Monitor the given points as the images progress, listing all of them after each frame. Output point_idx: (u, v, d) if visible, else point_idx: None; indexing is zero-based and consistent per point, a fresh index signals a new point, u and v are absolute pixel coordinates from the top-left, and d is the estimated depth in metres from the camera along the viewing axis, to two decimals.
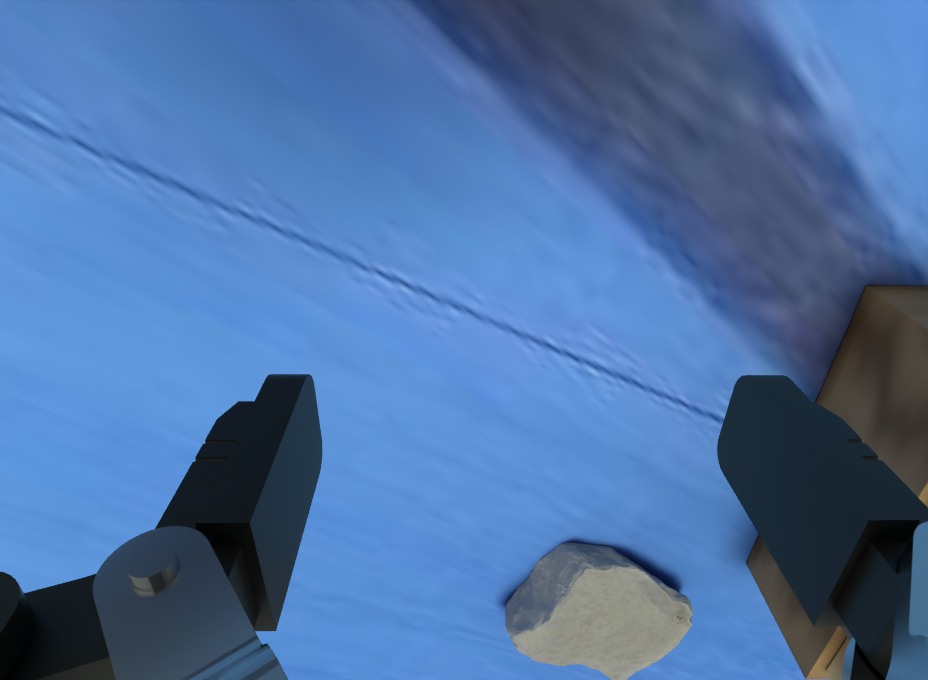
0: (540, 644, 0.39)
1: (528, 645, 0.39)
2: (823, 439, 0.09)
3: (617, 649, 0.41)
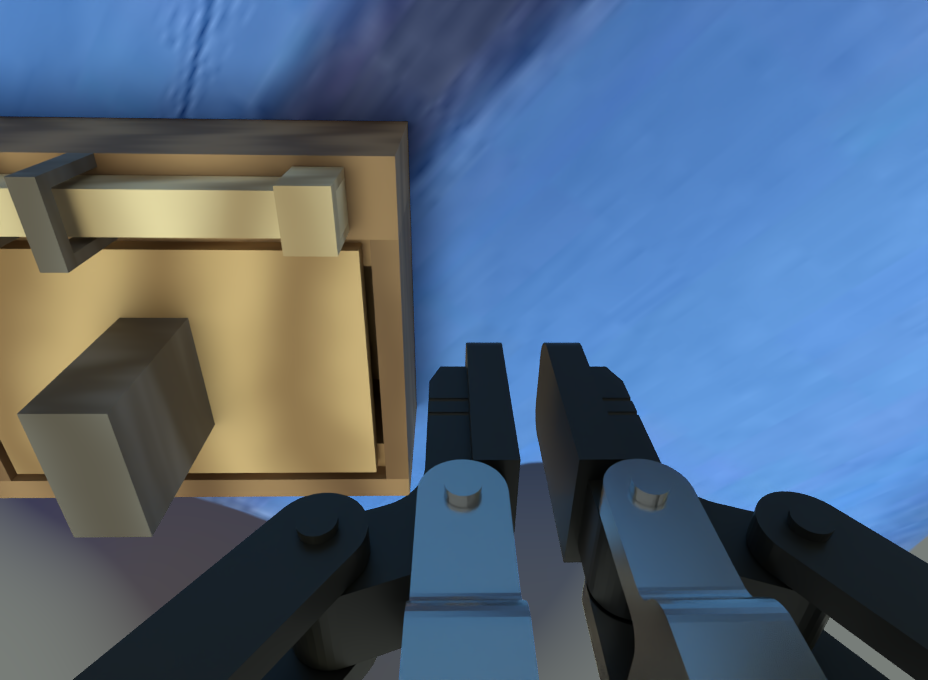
0: None
1: None
2: (580, 395, 0.10)
3: None
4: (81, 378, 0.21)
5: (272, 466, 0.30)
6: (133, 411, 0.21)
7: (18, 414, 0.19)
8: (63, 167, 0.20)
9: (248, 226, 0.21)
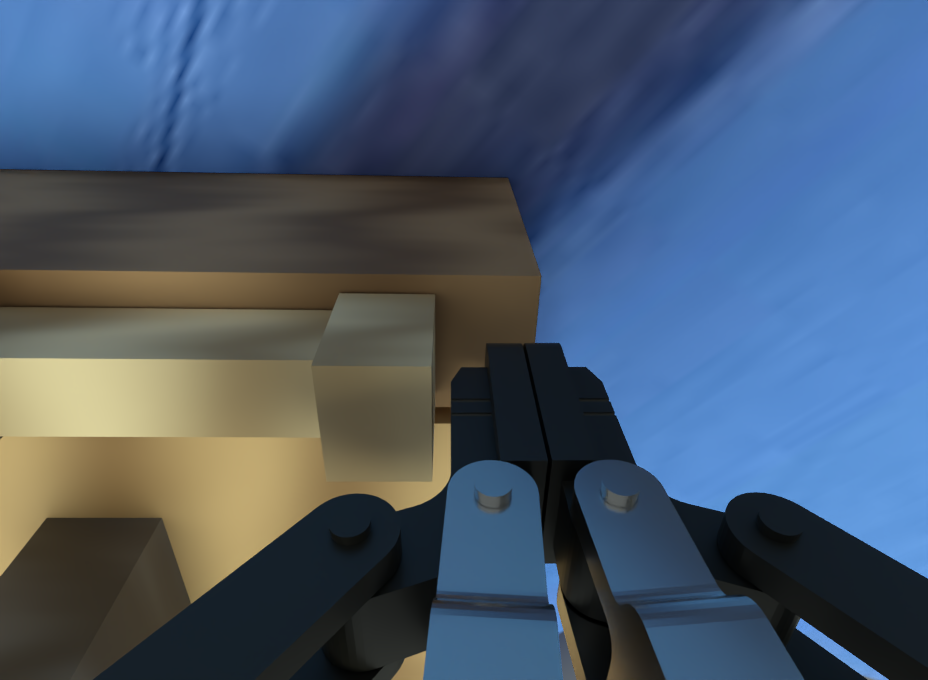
0: None
1: None
2: (557, 395, 0.10)
3: None
4: None
5: None
6: None
7: None
8: None
9: (258, 418, 0.11)
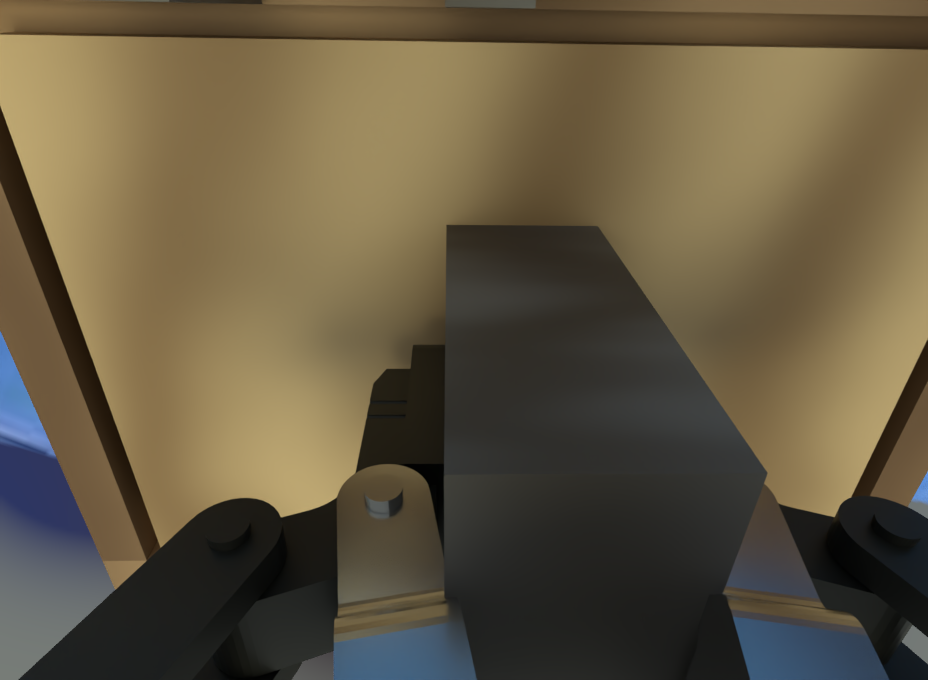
0: None
1: None
2: None
3: None
4: (523, 352, 0.07)
5: None
6: None
7: (449, 476, 0.05)
8: None
9: None
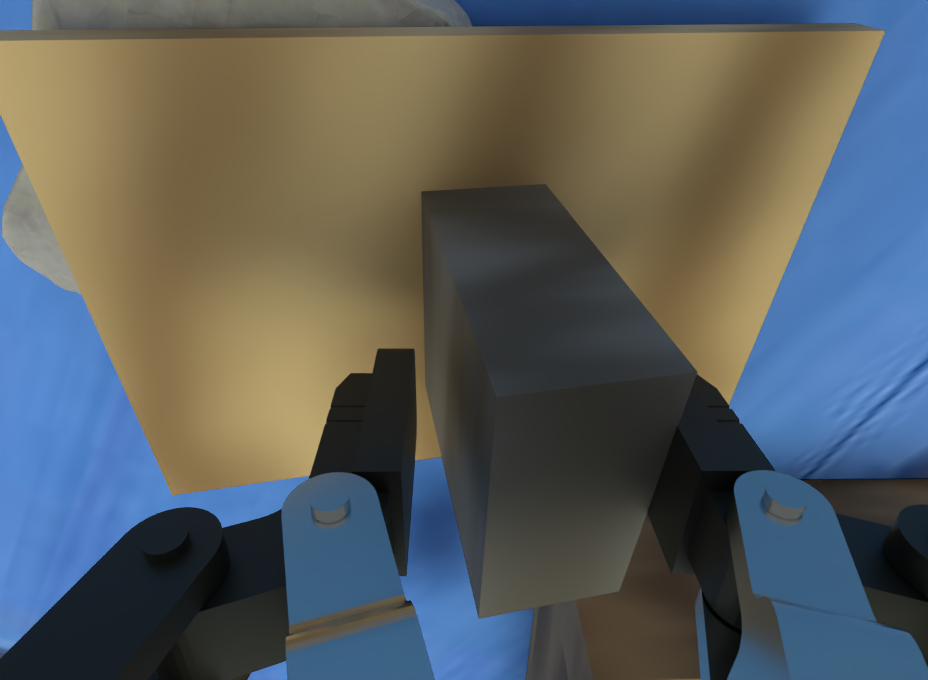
0: None
1: None
2: None
3: None
4: (520, 303, 0.10)
5: None
6: None
7: (500, 397, 0.08)
8: None
9: None
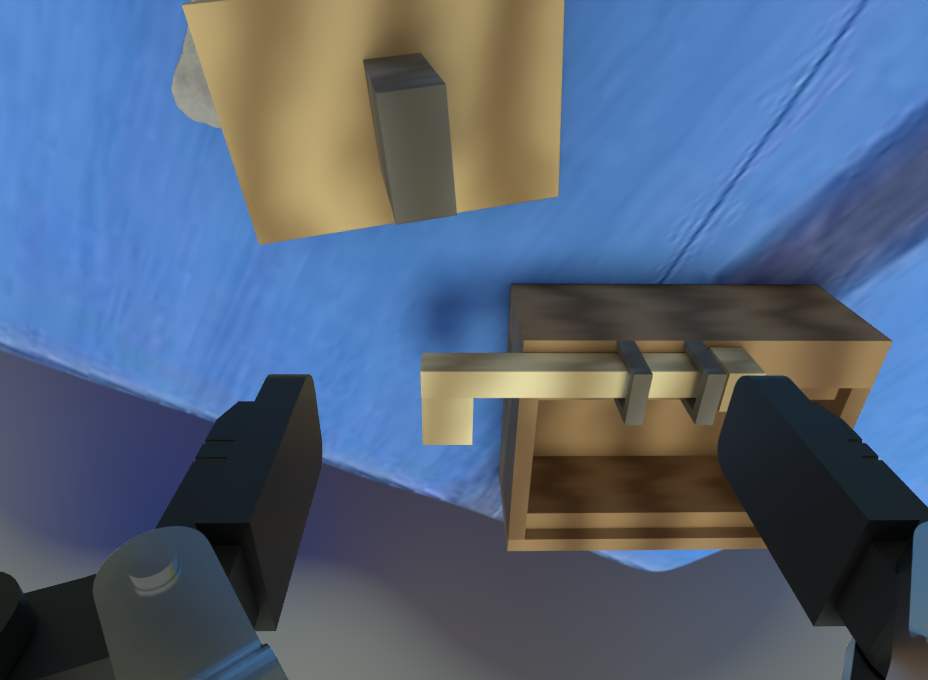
0: None
1: None
2: (823, 439, 0.09)
3: None
4: (392, 78, 0.26)
5: (475, 203, 0.35)
6: None
7: (376, 93, 0.24)
8: (714, 360, 0.32)
9: (693, 391, 0.33)
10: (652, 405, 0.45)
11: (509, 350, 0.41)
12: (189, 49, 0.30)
